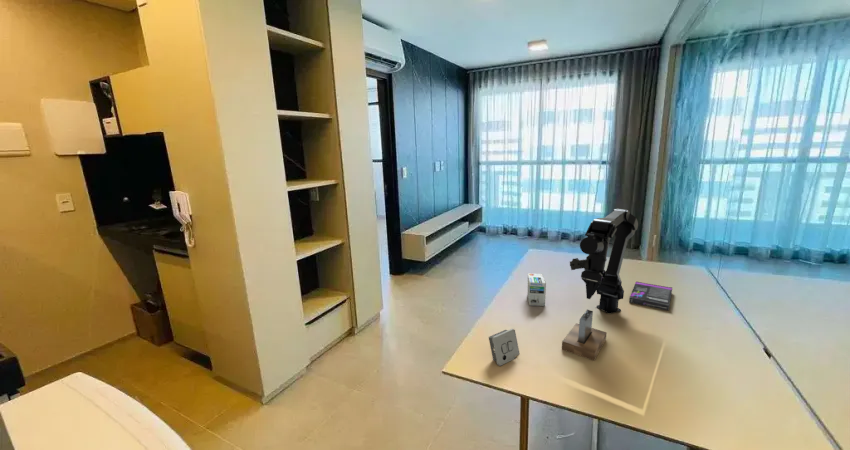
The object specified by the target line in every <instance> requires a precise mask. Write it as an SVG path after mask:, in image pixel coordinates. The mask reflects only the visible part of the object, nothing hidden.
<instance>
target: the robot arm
mask: <svg viewBox="0 0 850 450" xmlns="http://www.w3.org/2000/svg"><path fill="white" fill-rule="evenodd" d="M630 212H631V211H630V210H628V209H623V208H614V209H613V211H612V212H610V213H609V214H608V215H606V216H604V217H596V218H594V219H593V220H592V221H591V222H590V224H589V226H588V228H587V230H586V232H585V234H584V238H583V239H582V240H581V241H580V242H579V248H580V251H582V253H583V254H585V255H587V256H586V258H585V259H584V258H583V259H579V258H578V257H575V258H572V260H571V261H569V267H570V270H571V271H574V270H580V269H583V271H581V275H580V278H581V280H582V281H583V282H584V284H585V293H586V299H587V300H591V298H592V297H593V296H594V295H595V293H596V294H597V295H599V296H600V298H599V303H598V304H599V305H596V308H597V309H599V310H601V311H603V312H605V313H607V314H613V313H617V312H622V309H621V308H619V301H620V300H623V299H624V294H625V293H624V292H625V290H624V288H623V285H622V279H621V277H620V273H621V267H622V264H623V260H624V256H625V254H626V253H625V252H626V249H627V244H628V241H629V240H630V239H631V238H632V237H634V235H635V233H636V231H637V230H638V228H639V221H638V219H637V217H636V216H635V215H633V214H632V213H630ZM613 237H615V238H614V240H613V244H612V249H611V252H610V256H609V259H608V263H606V262H607V255H608V250H609V246H610V245H609V244H610V243H611V241H610V240H611V239H612V238H613ZM606 264H607V267H605V266H606ZM605 268H606V270H605Z"/></svg>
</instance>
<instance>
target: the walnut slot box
mask: <svg viewBox="0 0 850 450" xmlns="http://www.w3.org/2000/svg"><path fill="white" fill-rule="evenodd" d="M607 334H608V332H606V331H605V330H604V331H603V330H600V329H596V328H593V327H592V329H591V335H590V337H589V338H588V340H587V341H586V343H585V344H583V343H580V342H578V336H579V323H575V324H574V325H573V326H572V328H571V329H570V330H569V332H568V333H567V334H566V336H565V337H564V338H563V340H561V350H563V351H566V352H569V353H571V354H574V355H577V356H580V357H583V358H586V359H587V360H591V361H595V360H596V358H597V357H598V355H599V353H600V351H601V350H602V348H603V346H604V344H605V343H606V341H607Z"/></svg>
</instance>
